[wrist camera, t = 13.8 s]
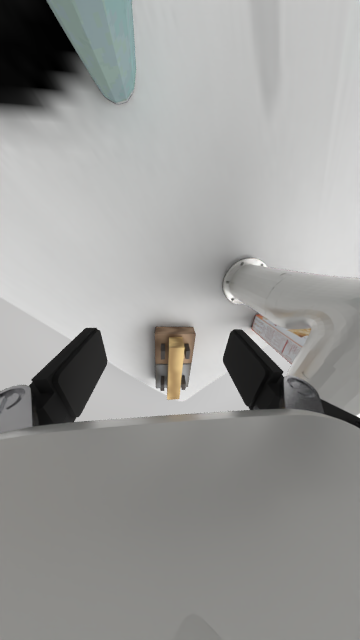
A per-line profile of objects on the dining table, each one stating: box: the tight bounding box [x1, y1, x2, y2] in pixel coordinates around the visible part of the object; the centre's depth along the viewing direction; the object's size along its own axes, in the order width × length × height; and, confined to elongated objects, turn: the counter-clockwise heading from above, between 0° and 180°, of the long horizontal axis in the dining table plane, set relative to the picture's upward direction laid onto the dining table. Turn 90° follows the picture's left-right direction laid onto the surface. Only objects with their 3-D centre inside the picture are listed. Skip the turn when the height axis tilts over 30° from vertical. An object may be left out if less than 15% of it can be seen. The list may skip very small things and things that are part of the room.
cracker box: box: [252, 315, 311, 365], centre depth 35 cm, size 14×6×21 cm, turn 90°
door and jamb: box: [155, 327, 196, 391], centre depth 44 cm, size 12×24×8 cm, turn 176°
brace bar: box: [167, 337, 185, 400], centre depth 41 cm, size 4×22×5 cm, turn 176°
